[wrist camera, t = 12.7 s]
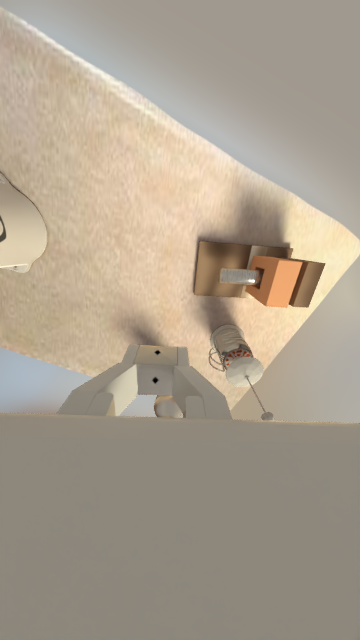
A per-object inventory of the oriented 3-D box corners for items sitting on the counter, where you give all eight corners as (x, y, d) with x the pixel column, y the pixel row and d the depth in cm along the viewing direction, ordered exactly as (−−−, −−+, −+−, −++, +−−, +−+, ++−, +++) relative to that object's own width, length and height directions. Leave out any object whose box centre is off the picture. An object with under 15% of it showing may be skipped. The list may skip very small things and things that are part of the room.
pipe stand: (193, 293, 44) (200, 311, 33) (199, 241, 39) (209, 241, 28) (274, 298, 45) (307, 317, 34) (290, 248, 40) (333, 251, 29)
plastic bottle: (162, 354, 52) (155, 416, 33) (184, 360, 53) (188, 424, 34) (156, 371, 54) (146, 437, 36) (176, 376, 55) (177, 443, 37)
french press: (241, 354, 52) (291, 442, 30) (202, 353, 52) (223, 442, 29) (247, 324, 48) (312, 400, 25) (205, 323, 48) (233, 399, 25)
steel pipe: (217, 281, 38) (220, 284, 35) (219, 266, 36) (223, 268, 34) (285, 285, 38) (293, 289, 36) (289, 271, 37) (298, 274, 34)
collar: (245, 291, 42) (266, 306, 32) (253, 255, 38) (279, 260, 29) (261, 292, 42) (287, 307, 32) (271, 256, 39) (302, 262, 29)
